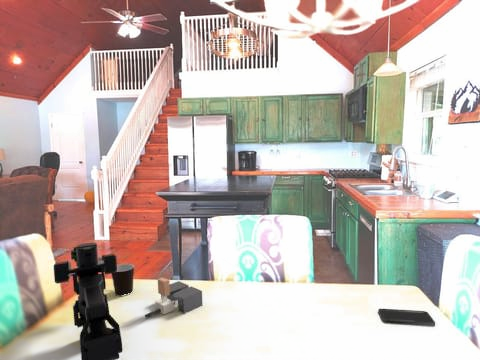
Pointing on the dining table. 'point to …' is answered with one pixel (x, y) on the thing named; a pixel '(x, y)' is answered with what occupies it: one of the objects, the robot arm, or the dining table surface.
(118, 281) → the coffee mug
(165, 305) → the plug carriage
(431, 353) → the dining table surface
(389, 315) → the phone
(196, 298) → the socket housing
